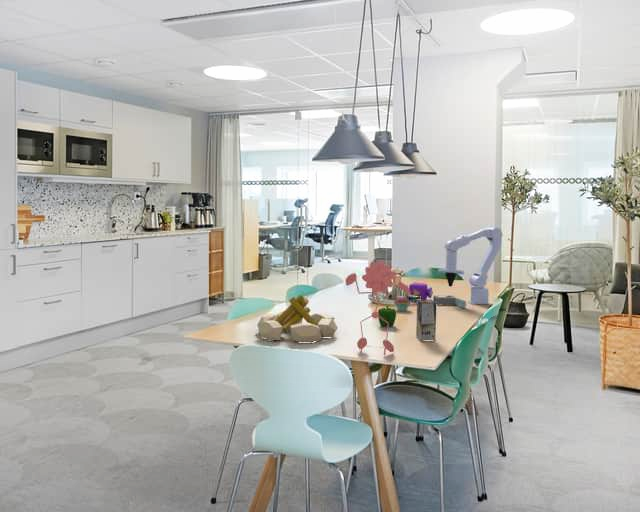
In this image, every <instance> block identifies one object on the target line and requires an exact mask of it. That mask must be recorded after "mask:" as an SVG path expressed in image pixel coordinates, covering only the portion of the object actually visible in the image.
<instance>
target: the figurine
mask: <svg viewBox="0 0 640 512" xmlns="http://www.w3.org/2000/svg"><path fill="white" fill-rule="evenodd" d="M364 270H365V274H363V275H361V279H362V280H363V282H365V288H367V289H371V291H360V289H359V285H358V280H357V279H358V278H357V274H356V272H353V273H350V274H349V275H348V276H347V277H346V278H345V280H344V281H345V285H346V287H348V286H350V285H352V284H354V283H355V285H356V290H357V293H358V294H359V295H360V294H361V295H363V294H373V295H374V296H375V297H376V298H377V299H378V300H377V303H376V307H375V310H374V311H372V313H371V315H370V316H368V317H366V318H364V319H362V320H360V322H359V324H360V329H361V333H360V334H361V337H360V338H359V339H358V340H357V342H356V345H357V346H356V347H358V350H359V351H360V352H359V354H360V353H363V349H364V348H365V346H368V340H367V338H366V337H364V335H363V334H364V333H363V325H362V322H364V321H366V320H368V319H370V318H372V319H379V318H378V317H380V316H379V314H378V308H379V304H380V301H381V298H380V297H382V298H385V299H388V298H390V296H391V294H392V293H393V292H394V291H395V290H396V289H397V287H398V286H399V288H400V289H401V290H402V291H403V292H404V293H405V292H406V294H407V295H408V296H409V295H410V290H409V286H407V285H406V284H404V283H403V282H402V281H401V280H399V281H398V282H397V284H396V285H395V286H394V282H393V280H394V279H395V278H396V275H395V274H394V273H393V272H391V270H392V265H390V264H386V263H385V262H384V261H380V262H378V263H377V262H376V261H374V260H372V261H371V262H370V263H369V266H365V269H364ZM388 288H392V290H391V291H390V292H389V293H388V294H387V296H385V295H383V294H386V293H387V291H388ZM379 292H381V293H383V294H380V293H379ZM379 296H380V297H379ZM380 318H381V317H380ZM381 319H382V320H384V319H383V318H381ZM384 321H385V320H384ZM385 322H386V321H385ZM386 323H388V322H386ZM386 327H387V329H386V336H385V337H386V339H383V340H382V345H383V348H384V347H385V348H384V349H383V355H385V356H386V351H388V352H390V353H391V352H393V353H394V351H395V348H394V347H395V346H394V345H393V343H392V342H391V341H390V340H388V337H389V336H388V335H389V327H390V326H389V324H388V326H386ZM360 349H361V350H360Z"/></svg>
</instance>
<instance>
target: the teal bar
mask: <svg viewBox="0 0 640 512" xmlns="http://www.w3.org/2000/svg"><path fill="white" fill-rule="evenodd" d="M455 306H457V307H460V308H463V309H466V308H467V301H466V300H464V299H461V298H457V297H456V305H455Z"/></svg>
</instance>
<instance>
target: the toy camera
mask: <svg viewBox="0 0 640 512" xmlns="http://www.w3.org/2000/svg"><path fill="white" fill-rule="evenodd" d="M408 289H409V290H410V294H411V295H415V296H421V300H428V299H427V298H429V299H431V298H432V296H433V294H434V292H433V289H432V287H431V286H430V287H429V288H428V284H427V283H421V282H417V281H413V283H410V284H409V286H408Z"/></svg>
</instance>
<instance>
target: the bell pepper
mask: <svg viewBox="0 0 640 512" xmlns="http://www.w3.org/2000/svg"><path fill="white" fill-rule="evenodd" d="M389 306H390V305H389V303H387V304H386V308H385V307H382V308H379V309H377V312H378V314H379V316H380V317H381V318H383V319H384V320H385V321H386V322H388V323H386V322H385V321H384V320H382V319H381V318H380V317H378V318H377V319H378V323H379V325H380V326H381V325H382V327H388V324H389V327H393V326H394V325H395V323H396V318H397V310H396V309H395V308H391V307H389Z"/></svg>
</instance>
